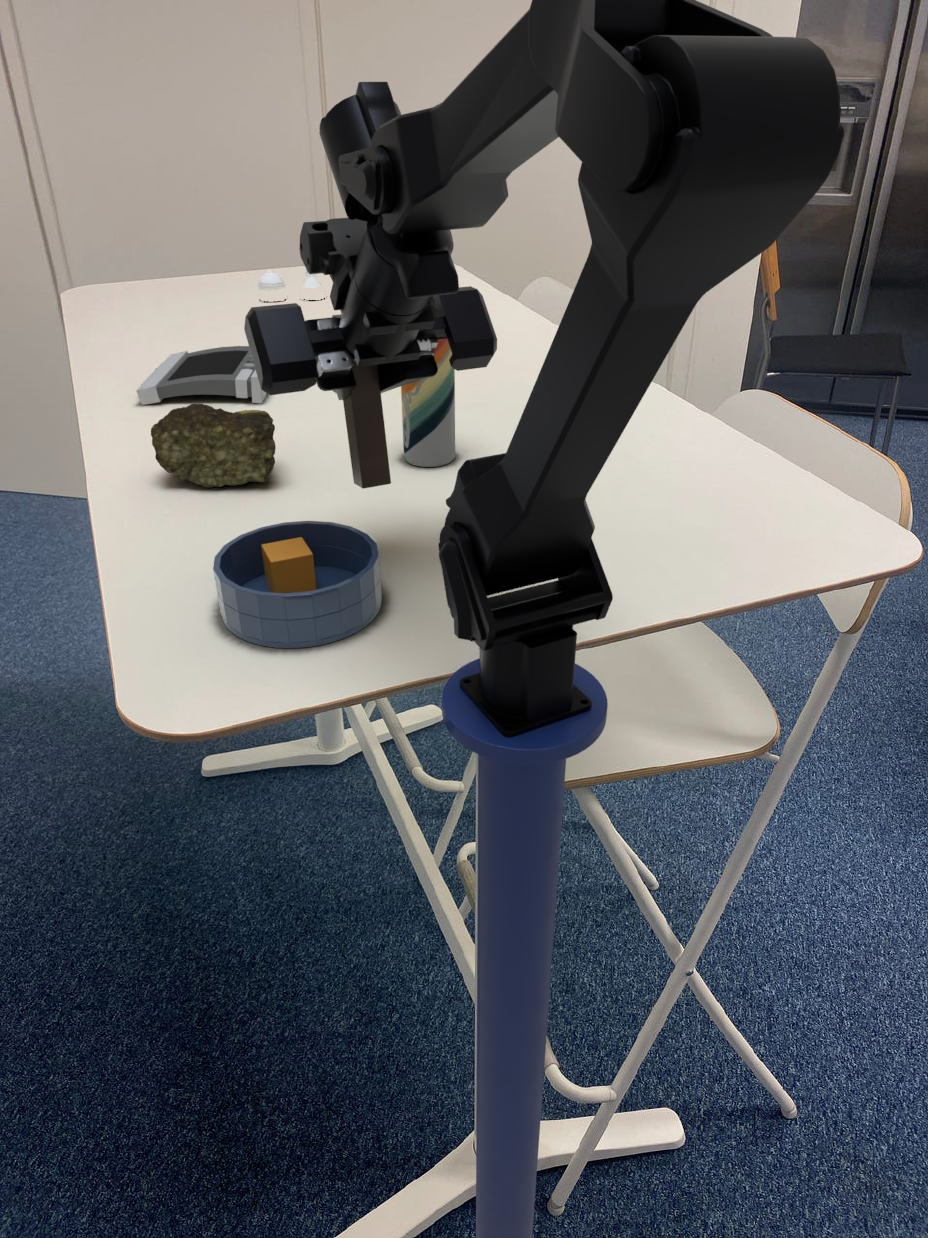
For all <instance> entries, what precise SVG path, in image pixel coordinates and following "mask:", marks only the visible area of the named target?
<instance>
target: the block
mask: <svg viewBox="0 0 928 1238" xmlns="http://www.w3.org/2000/svg"><path fill="white" fill-rule="evenodd" d="M261 548H262V555H263V563H264V570H265V577H266V582H267V584H268V585H269V587H270V589H271V591H272V593H294V592H306V591H313V590H317V588H316V579H315V569H314V560H313V554H312V552H311V550H310V549H309V547H308V546H307V544H306V543H305V541H304V540H303V538H302V537H299V538H293V539H288V540H283V541H277V542H272V543H267V544H262V545H261Z"/></svg>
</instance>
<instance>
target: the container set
mask: <svg viewBox="0 0 928 1238" xmlns="http://www.w3.org/2000/svg"><path fill="white" fill-rule="evenodd" d="M322 285H323V284H322V282H321V281H320V280H319V278H318V277H317V274H309V273H308V271H307V269H306V268H305V278H304V280H303V281H302V284H301V285H300V287H301V286H302V287H304V288H317V287H321V286H322ZM257 287H258V290H259V289H260V290H268V291H270V290H278V289H282V288H284V287H285V288H286V283H285V280H284V279H283V277H282V276H281V275H280V273H277V272H275V271H274V270H273V269H267V270H266V272H265V273H263V274H262V275H260V277H259V279H258V283H257Z"/></svg>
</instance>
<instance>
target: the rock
mask: <svg viewBox="0 0 928 1238" xmlns="http://www.w3.org/2000/svg"><path fill="white" fill-rule="evenodd" d="M275 430H276V426H275V424H274V419H273V418H272V416H271V415H270V413H268V412H267V411H265V410H260V409H244V410H239V411H234V412H232V411H227V410H224V409H223V408H221V407H219V408H214V407H213V406H211V405H209V404H204V403H192V404H189V405H187V406H183V407H177V408H173V409H170V411H169V412H168V413H167V414H166V415H164V416H163V417H162V418H161V419H159V420H158V421H157V423H155V424H153V425H152V427H151V428H150V436H151V445H152V448H154V452H155V460H156V461H157V463H158V464H159V466H160V467H161V468H162V469H163V470H164V471H166V472H167V473H168V474H171V475H175V476H176V477H177V478H178V479H179V480H181V481H186V482H188V481H190V482H192V483H194V484H196V485H199V486H201V487H202V488H210V489H212V488H214V487H217V488H219V487H223V486H226V485H227V486H230V487H231V486H233V487H235V486H237V485H239V486H242V485H246V484H248V483H249V482H250V483H253V482H255V483H256V482H257V483H265V482H267V481H268V480H269V477H270V476H271V474H272V472H273V469H274V467H275V464H276V458H275V453H276V441H275V439H274V434H275V433H274V432H275Z"/></svg>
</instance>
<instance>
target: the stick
mask: <svg viewBox="0 0 928 1238" xmlns="http://www.w3.org/2000/svg"><path fill="white" fill-rule="evenodd" d="M341 315H342V314H341V313H340V314H332V315H331V317H336V318H341ZM352 371H353V374H354V377H355V380H356V384H357V386H356V388H355V389H354V390H353V391H352V392H351V393H350V394H349V396H348V397H347V398H345V399H344V400H342V402H343V409H344V410H343V411H344V417H345V426H346V433H347V442H348V449H349V456H350V464H351V471H352V479H353V480H352V481H353V484H354V485H356V486H357V487H359V488H361V489H369V488H375V487H381V486H385V485H386V486H387V485H391V484H392V479H391V470H390V469H391V468H390V461H389V452H388V445H387V436H386V435H387V434H386V427H385V418H384V409H383V402H382V393H381V391H380V382H379V374H378V365H369V366H360V367H357V363H356V360H355V361H354V363H353V366H352Z"/></svg>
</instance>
